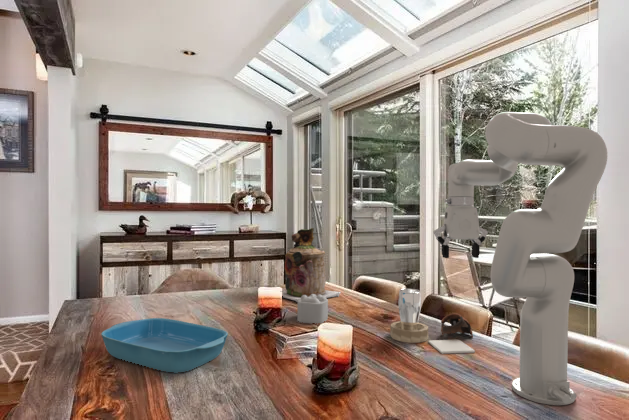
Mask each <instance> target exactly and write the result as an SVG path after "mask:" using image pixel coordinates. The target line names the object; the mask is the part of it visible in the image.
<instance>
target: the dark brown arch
mask: <svg viewBox="0 0 629 420" xmlns="http://www.w3.org/2000/svg"><path fill="white" fill-rule="evenodd" d="M446 322H449V323H450V325H446ZM440 323H441V327H440V332H441V335H442V336H444V335H452V334H456V333H460V334H469V335H470V336H471V339H472V338H474V336H473V330H472V327H471V323H470V322H469V321H468V319H466V318H465V317H463V315H462V314H460V313H449V314H447V315H446V316H444V317H443V318H442V319H441V320H440Z"/></svg>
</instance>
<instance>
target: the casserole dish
mask: <svg viewBox="0 0 629 420" xmlns="http://www.w3.org/2000/svg"><path fill="white" fill-rule="evenodd" d="M228 334H229V333H228V331H226V330H224V329H220V328H216V327H213V326H207V325H202V324H197V323H193V322H187V321H184V320H183V321H182V320H177V319H171V318H165V317H163V318H162V317H153V318H152V317H151V318H145V319H143V318H142V319H135V320H128V321H123V322H120V323H117V324H114V325H112V326H110V327H109V328H107V329H105V330H103V331H102V332H101V337H102V340H103V343H104V346H105V348H106V351H107V352H108V353H109V355H111V356H112V357H114V358H116V359H119V360H121V359H122V360H121V361H124V360H125V362H127V361H128V362H127V363H130V362H132V363H131V364H134V363H135V364H134V365H137V364H139V365H138V366H141V365H142V366H141V367H144V366H146V367H145V368H147V367H149V368H148V369H151V368H153V369H152V370H155V369H157V370H156V371H159V370H161V371H160V372H163V371H166V372H165V373H168V372H174V373H173V374H179V373H178V372H184V373H186V372H185V371H187V372H189V370H190V371H193V370H195V369H197V368H199V367H201V366H203V365H206V364H207V363H209V361H210V362H212V361H213V360H215V359H216V358H218V356H220V354H221V353H222V351H223V348H224V346H225V344H226V341H227V339H228V336H229V335H228ZM198 366H199V367H198ZM196 367H197V368H196ZM194 368H195V369H194ZM192 369H193V370H192Z"/></svg>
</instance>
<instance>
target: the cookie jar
mask: <svg viewBox="0 0 629 420" xmlns="http://www.w3.org/2000/svg"><path fill="white" fill-rule="evenodd" d="M314 229H315V228H314V227H310V228H308V229H305V228H301V229H299V230H297V232H296V233H293V234H292V235H291V241H292V242H293V243H294V244H293V247H292V248H290V249H289V250H288V251H287V252H286V254H285V262H284V272H285V273H284V274H285V290H281V292H283V297H282V298H285V299H287V300H291V301H293V302H294V301H295V302H296V303H298V300H300V299H301V297H302V295H306V296H307V297H309V296H310V295H311V294H315V295H316V296H318V295H319V294H321V295H322V296H324V297H326V298H327V299H329V298H335V297H340V295H341V291H335V290H334V291H332V290H327V289H325V288H326V287H325V286H326V280H327V278H326V267H325V258H324V257H325V255H326V252H325V250H320V249H318V248H316V247H315V246H314V245H313V244H312V243H313V240H314V239H315V237H314Z"/></svg>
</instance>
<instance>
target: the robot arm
mask: <svg viewBox="0 0 629 420" xmlns="http://www.w3.org/2000/svg"><path fill="white" fill-rule="evenodd" d="M484 134H485V140H486V141H487V144H488V145H487V147H486V148H487V149H486V151H487V155H488V157H489V159H490V160H487V159H486V160H485V159H464V160H460V161H459V162H455V163H453V164H452V163H451V164H450V165H449V167H448V184H447V185H448V186H447V187H448V191H447V193H448V196H447V198H444V200H443V201H444V204H447V206H448V207H446V209H445V213H444V219H443V225H442V226H440V227H438V228H437V229H434V230H433V234H434V236H435V239H436V240H437V242H438V243H439V244H440V245H441V255H442V258H445V259H449V258H450V245H449V243H450V241H451V240H470V241H471V242H472V245H471V257H472V258H475V259H479V258H480V257H479V255H480V253H481V252H480V251H481V250H480V248H481V247H480V246H481V245H482V243H483V242H484V241H485V240H486V237H487V235H488V233H489V231H488V230H486V229H484V228H483V227H481V226H480V221H479V213H478V209H477V207H475V206H474V204H475V201H474V200H475V198H474V195H475V192H474V191H475V186H484V187H485V186H486V187H488V186H489V187H491V186H492V187H493V186H498V185H501V184H503V183H504V182H507V181H509V180H510V179H511V178H512V177H513V176H514V175H515V174H516V172H517V169H518V166H519V165H518V164H522V165H526V166H549V167H550V166H555V167H558V166H561V167H562V170H561V171H560V172H559V173H557V174H556V175H555V176H554V178H552V180H551V181H550V182H549V184H548V185H547V188H546V189H545V192H544V197H543V199H542V203H541V204H540V207H538V208H537V209H535V208H533V209H532V208H524V209H517V210H514V211H511V212H510V213H509V214H508V215H506V217H505V218H504V220H503V221H502V224H501V226H500V229H499V233H498V236H497V237H498V238H497V241H496V242H497V243H496V245H495V250H494V254H493V258H492V262H491V265H490V266H491V268H490V282H491V283H490V284H491V286H492V288H493V290H494V291H495V292H496V293H497V294H498V295H500V296H502V297H505V298H526V299H525V301H524V303H523V304H522V308H521V311H520V320H519V321H520V323H519V326H520V327H519V377H517V378H515V379H514V380H513V381H512V382H511V388H512V390H513V392H514V393H516V394H517V395H518V396H519V397H522V398H524V399H526V400H529V401H531V402H535V403H539V404H542V405H548V406H549V405H550V406H567V405H570V404H573V403H574V402H575V401H576V398H577V394H576V393H575V392H574V390H572V389H571V386H570V383H571V382H570V381H569V380H568V349H569V348H568V347H569V346H568V344H569V343H568V341H569V335H568V334H569V311H570V301H571V296H572V292H573V289H574V283H575V271H574V268H573V266H572V264H571V263H570V262H569V261H568V260H567V259H566V258H564V257H563V256H560V255H557V254H559V253H560V254H561V253H563V254H564V253H567V252H570V251H572V250H574V249H575V248H576V246H577V244H578V242H579V239H580V238H581V234H582V232H583V231H582V230H583V228H584V225H585V222H586V218H587V215H588V211H589V209H590V205H591V202H592V199H593V196H594V193H595V192H596V189H597V188H598V185H599V183H600V181H601V179H602V177H603V175H604V173H605V170H606V167H607V162H608V148H607V144H606V142H605V140H604V139H603V137H602V136H601V135H600V134H599V133H598V132H596V131H594V130H593V129H590V128H587V127H582V126H575V125H561V124H560V125H559V124H558V125H554V124H553V125H552V122H551V121H550V120H549V119H548V118H547V117H545V116H544V115H542V114H540V113H534V112H533V113H532V112H516V111H502V112H500V113H497V114H495V115H494V116H493V117H491V119H490V120H489V121H488V122H487V125H486V128H485V133H484ZM441 233H443V237H442V236H441Z"/></svg>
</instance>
